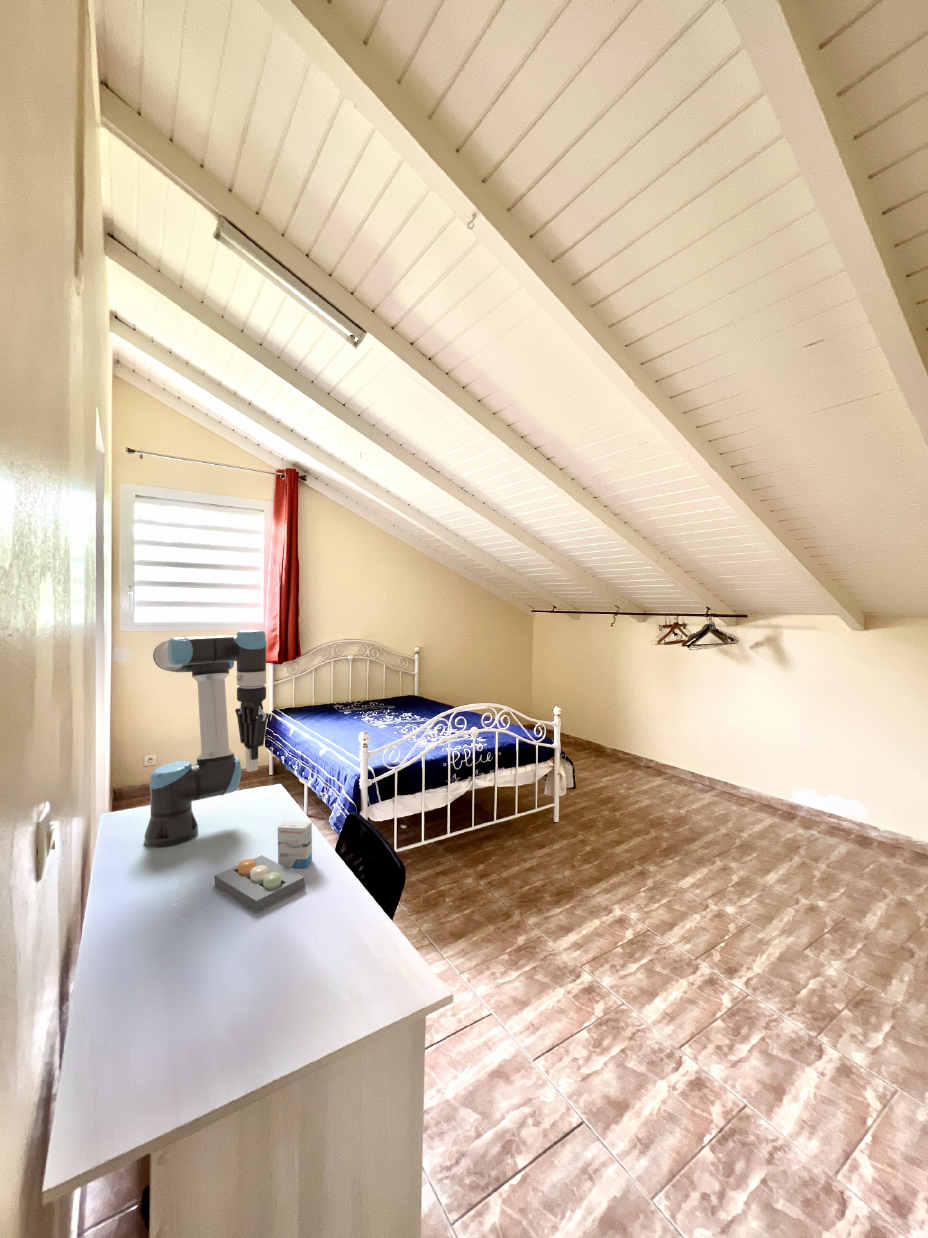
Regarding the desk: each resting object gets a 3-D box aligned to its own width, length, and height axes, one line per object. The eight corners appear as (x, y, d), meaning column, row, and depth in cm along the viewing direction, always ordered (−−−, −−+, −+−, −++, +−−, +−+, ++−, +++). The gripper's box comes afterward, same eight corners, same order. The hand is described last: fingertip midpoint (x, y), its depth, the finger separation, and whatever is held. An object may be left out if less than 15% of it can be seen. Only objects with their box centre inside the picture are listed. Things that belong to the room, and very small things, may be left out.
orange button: (234, 878, 143) (234, 863, 143) (249, 871, 146) (249, 857, 146) (243, 883, 140) (243, 868, 140) (258, 876, 144) (258, 862, 144)
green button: (259, 892, 136) (259, 877, 136) (274, 885, 139) (274, 870, 139) (269, 898, 133) (269, 883, 133) (284, 890, 137) (284, 875, 136)
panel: (214, 886, 140) (214, 875, 140) (261, 865, 151) (261, 855, 151) (256, 913, 128) (256, 901, 128) (304, 888, 139) (304, 877, 139)
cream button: (247, 885, 139) (246, 870, 139) (262, 878, 143) (261, 863, 143) (256, 890, 137) (256, 875, 137) (271, 883, 140) (271, 868, 140)
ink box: (312, 860, 154) (312, 821, 154) (306, 869, 149) (305, 828, 149) (285, 859, 155) (284, 820, 155) (277, 867, 150) (277, 827, 150)
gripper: (226, 685, 145) (226, 768, 146) (252, 690, 137) (252, 779, 139) (251, 681, 151) (251, 762, 152) (277, 687, 143) (277, 771, 145)
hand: (252, 770), depth 145 cm, fingers closed
